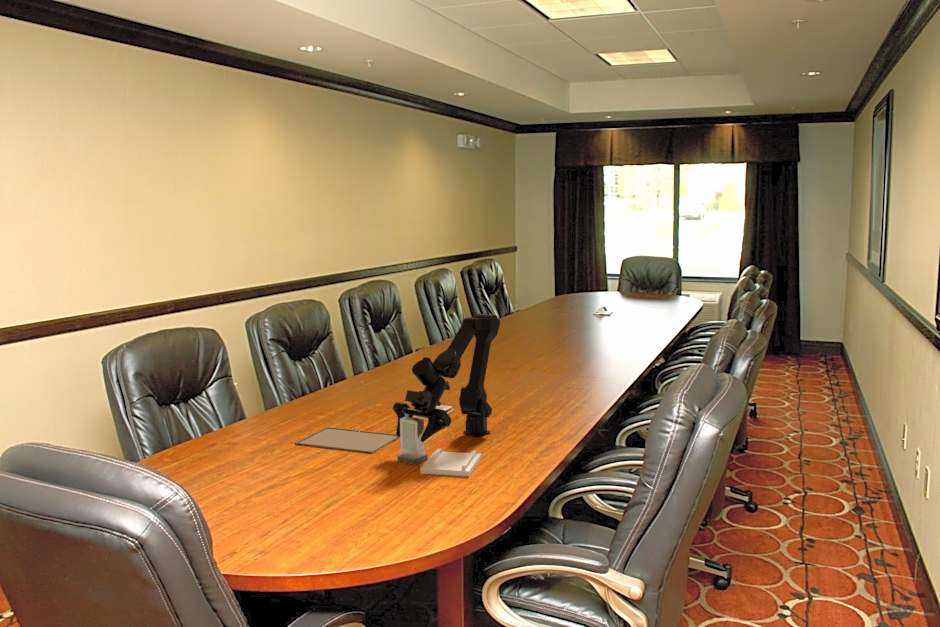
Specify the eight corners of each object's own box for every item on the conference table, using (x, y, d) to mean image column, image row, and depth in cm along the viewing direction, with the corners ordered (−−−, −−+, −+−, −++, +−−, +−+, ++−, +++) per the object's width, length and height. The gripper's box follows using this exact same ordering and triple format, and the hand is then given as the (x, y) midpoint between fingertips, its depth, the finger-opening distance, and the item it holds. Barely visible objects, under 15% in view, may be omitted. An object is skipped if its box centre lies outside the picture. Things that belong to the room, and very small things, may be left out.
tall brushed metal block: (410, 455, 250) (409, 415, 248) (427, 459, 246) (426, 418, 244) (397, 460, 245) (396, 419, 243) (414, 464, 241) (413, 422, 240)
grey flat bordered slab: (401, 437, 270) (327, 429, 280) (401, 434, 270) (327, 426, 280) (373, 455, 252) (294, 445, 263) (373, 451, 252) (294, 442, 263)
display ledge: (435, 456, 249) (435, 447, 249) (481, 458, 246) (481, 449, 246) (420, 473, 234) (420, 464, 233) (469, 476, 230) (468, 467, 230)
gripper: (395, 375, 251) (371, 419, 244) (444, 383, 240) (421, 429, 233) (412, 396, 258) (390, 439, 251) (461, 404, 248) (439, 449, 240)
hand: (409, 438), depth 244 cm, fingers open, 9 cm apart
